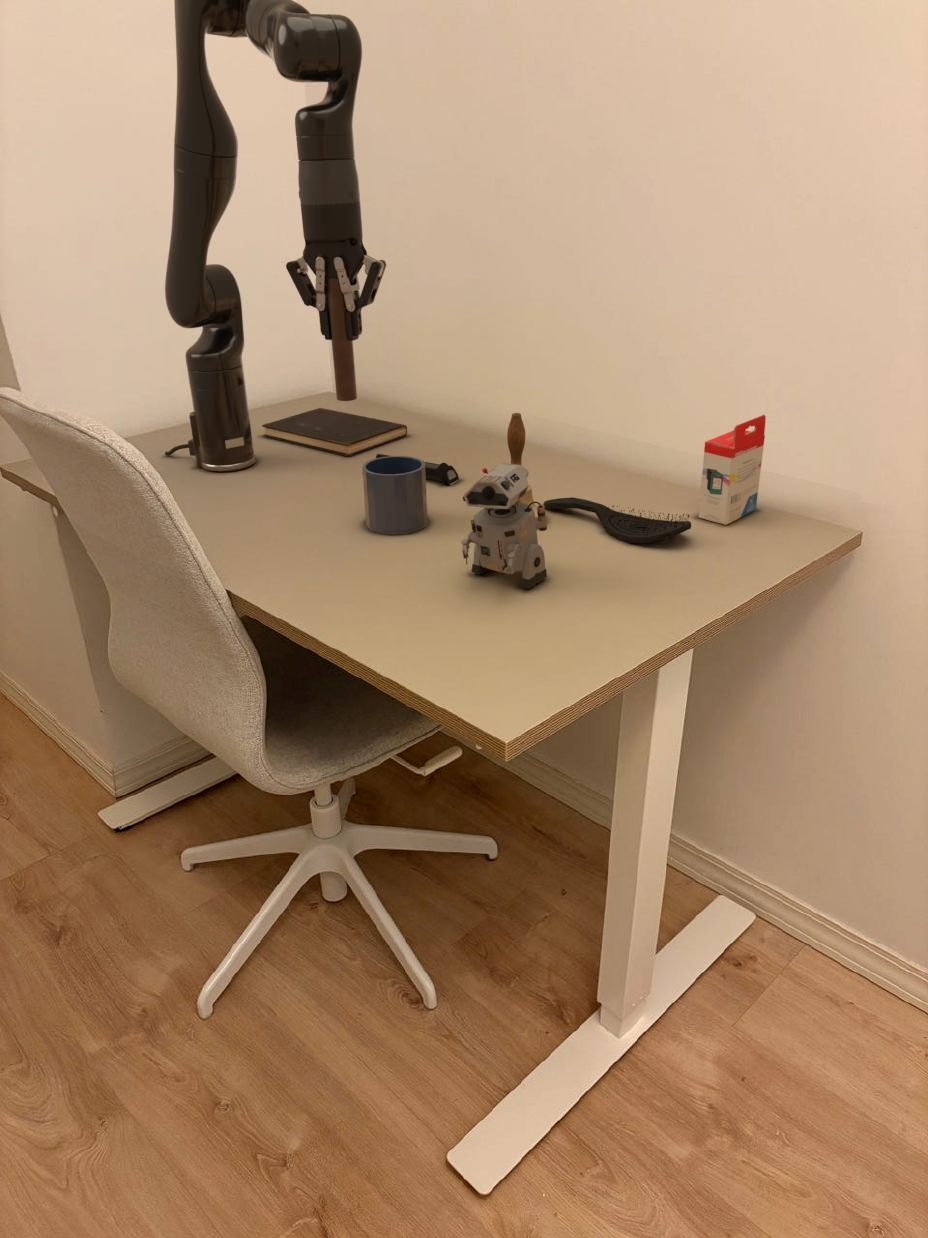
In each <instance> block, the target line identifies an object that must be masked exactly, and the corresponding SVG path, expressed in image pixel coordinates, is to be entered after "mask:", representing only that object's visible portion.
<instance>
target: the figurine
mask: <svg viewBox="0 0 928 1238" xmlns="http://www.w3.org/2000/svg"><path fill="white" fill-rule="evenodd" d="M481 470H482V473H483V474H485V475H484V476H482V477H481V478H479V479H478V480H477V481H476V482H475V483H473V484H472V486H471V487H470V488H469V489H468V490H467V491H466V492H465V493H464V494H463V496H462V500H463V502H465V504H466V507H472V508H481V510H479V511H478V512H477V513H476V514H474V515H473V516H472V518H473V519H470V525H471V531H470V532H468V534H467V537H466V538H464V539H462V540H461V541H460V543H461V545H462V548H461V552H462V557H463V559H464V560H465V563H466V564H465V565H468V559H469V558H470V556H469V550H470V548H471V547H470V544H471V543H472V544H474V549H473V563H472V565H471V573H474V574H475V575H479V576H481V575H483V574H484V573H486V572H487V570H492V571H495V572H498V573H504V574H506V575H513V574H514V573H516V572H520V571H522V574H521V575H522V577H521V578H520V587H522V588H523V589H526V590H531V589H532V588H535V586H536V584H541V582H544V580H545V578H547V577H548V573H547V569H546V559H545V552H544V549H543V547H542V546H541V544H539V542H538V540H539V539H538V532H537V530H539V531H540V532H544V531H547V530H548V525H547V519H546V518H547V517H546V508H545V507H544V504H541V503H540V502H539V501H534V502H532V503H530V504H529V505H528V504H524V503H520V502H521V501H520V499H521V498H522V497H523V496H525V494H526V491H527V488H528V484H529V481H528V476H529V474H530V472H529V470H528V469H527V468H526V467H525V466H523V465H522V466H521V465H519V464H511V463H501V464H500V465H498V466H496V467H495V468H493V469H492V470H490V471H488V468H486V467H484V468H482V469H481ZM533 503H534V504H538V505H537V506H536V508H537V514H538V517H535V512H534V510H533V508H532V506H531V504H533Z"/></svg>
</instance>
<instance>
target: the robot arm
mask: <svg viewBox="0 0 928 1238" xmlns="http://www.w3.org/2000/svg"><path fill="white" fill-rule="evenodd" d="M173 1H174V2H173V3H174V32H175V33H174V34H175V53H176V55H175V57H176V100H175V122H174V123H175V124H174V137H173V138H174V139H173V140H174V141H173V195H172V196H173V197H172V198H173V199H172V215H171V216H172V217H171V218H172V219H171V230H170V231H171V232H170V240H169V249H168V254H167V255H168V256H167V263H166V272H165V281H164V297H165V298H164V299H165V303H166V308H167V311H168V313H169V315H170V317H171V319H172V321H174V323H175V324H176V325H177V326H179V327H181V328H183V329H197V328H202V331H201V333H200V335H199V337H198V338H197V340H196V341H195V342H194V343H193V344H192V345H191V346H190V347H188V348H187V350H186V352H185V354H184V355H185V357H184V358H185V364H186V365H185V366H186V369H187V370H186V371H187V377H188V384H189V389H190V396H191V397H190V398H191V403H192V410H193V411H192V412H190V413H189V417H188V418H189V424H190V430H191V437H192V438H191V439H190V440H188V441H187V443H184V444H179V445H176V446H174V447H172V448H171V449H170V450H168V451H167V450H166V451H165V452H164V455H165V456H166V457H167V456H172V455H173V454H174V453H176V452H177V451H180V450H183V449H188V451H189V456H191V457H195V462H196V467H197V468H202V469H204V470H206V471H211V472H233V471H239V470H244V469H247V468H249V467H251V466H253V465H254V464H255V463H256V455H255V450H254V442H253V435H252V427H251V425H252V424H251V419H250V410H249V402H248V396H247V388H246V386H247V385H246V379H245V371H244V364H243V352H244V348H245V332H244V319H243V318H244V317H243V306H242V305H243V304H242V297H241V292H240V291H241V290H240V288H239V284H238V282H237V279H236V277H235V276H234V274H233V273H232V271H231V270H230V269H229V268H227V266H224V265H223V264H218V263H210V264H207V263H208V252H209V249H210V244H211V240H212V237H213V234H214V233H215V230H216V228H217V227H218V225H219V223H220V221H221V219H222V218H223V216H224V213H225V212H226V210H227V208H228V206H229V204H230V202H231V199H232V197H233V195H234V193H235V188H236V184H237V172H238V171H237V170H238V157H239V156H238V155H239V140H238V135H237V133H236V130H235V127H234V125H233V123H232V121H231V118H230V116H229V113H228V111H227V110H226V108H225V106H224V103H223V101H222V99H221V98H220V96H219V94H218V92H217V89H216V87H215V85H214V82H213V79H212V77H211V74H210V70H209V67H208V66H209V65H208V60H207V52H206V35H212V36H217V37H225V38H231V39H238V38H248V40H249V42H250V43H251V44H252V46H253V47H254V48H255V49H256V50H257V51H258V52H260V53H261V54H263V55H264V56H266V57H268V58H270V59H271V60H272V62H273V64H274V66H275V68H276V71H277V73H278V74H279V75H280V76H281V77H282V78H283V79H285V80H288V81H290V82H294V83H327V87H326V91H325V95H324V96H323V99H322V100H320V101H319V102H317V103H314V104H309V105H306V106H303V107H301V108H299V109H298V110H297V111H296V113H295V116H294V129H295V137H296V138H295V140H296V150H297V160H298V174H297V176H298V177H297V178H298V179H297V180H298V181H297V182H298V197H299V202H300V213H301V223H302V224H301V225H302V233H303V239H304V249H303V250H302V256H300V257H298V258H296V259H293V260H290V261H287V263H286V265H285V268H286V270H287V272H288V274H289V276H290V278H291V280H292V283H293V284H294V286H295V288H296V290H297V292H298V294H299V296H300V298H301V300H302V302H303V304H304V305H305V306H306V307H313V308H315V309H316V310H317V312H318V317H319V327H320V333H321V336H324V339H325V341H332V340H331V329H330V318H329V306H328V295H327V278H339V283H340V288H341V292H342V294H343V295H344V298H345V303H346V307H347V310H348V312H346V320H347V332H348V340H352V341H356V340H359V338H360V335H362V333H363V320H362V319H363V318H362V309H363V308H364V307H368V306H369V305H372V304H373V303H374V302H375V300H376V296H377V294H378V290H379V287H380V285H381V281H382V280H383V276H384V274H385V270H386V268H387V262H386V261H385V260H384V259H379V260H378V259H376V258H374V257H373V256H370V255H368V252H367V249H366V247H365V245H364V243H363V237H364V236H363V234H364V233H363V223H362V220H363V219H362V209H361V206H362V205H361V195H360V182H359V181H360V179H359V175H358V169H357V163H356V159H355V158H356V154H355V139H354V138H355V137H354V128H353V127H354V126H353V125H354V114H355V113H354V112H355V105H356V97H357V92H358V85H359V78H360V74H361V68H362V60H363V44H362V43H363V42H362V39H361V38H362V37H361V35H360V32H359V30H358V28H357V26H356V24H355V23H354V22H353V20H351V18H349V17H347V16H346V15H343V14H336V13H335V14H333V13H326V14H324V13H323V14H322V13H310V11H309V9H307V8H305V7H304V5H302V4H300V3H298V2H296V1H295V0H173ZM363 266H364V274H365V275H366V279H365V280H364V284H363V287H362V289H361V288H360V287H361V286H360V282H359V277H358V274H359V273H360V271H361V269H362V268H363ZM309 269H310V271H311V272H312V273H313V274H314V275H315V286H314V284H313V282H312V280H311V278H310V276H309V273H308V272H309ZM360 289H361V293H360Z"/></svg>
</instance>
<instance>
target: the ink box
mask: <svg viewBox="0 0 928 1238" xmlns="http://www.w3.org/2000/svg"><path fill="white" fill-rule="evenodd" d="M766 417H767V416H766V415H765V414H762V415H760V416H757V417H754V418H752V419H748V420H746V421H744V422H741V423H738V424H736V425H735V426H734V427H733V430H731V431H728V432H726V433H724V434H721V435H719V436H716V437H714V438H711V439H708V440H705V441H704V448H703V451H704V452H703V460H702V461H703V462H702V471H701V486H700V497H699V507H698V518H699V519H703V520H706V521H710V522H713V523H716V524H721V525H724V526H726V525H729V524H731V523H733V522H735V521H736V520H739V519H740V518H742V517H744V516H747V515H749V514H751V513H753V512H754V511H756V509H757V504H758V503H757V502H758V497H759V496H758V495H759V488H760V480H761V479H760V478H761V469H762V463H763V462H762V461H763V453H764V447H765V439H766V438H765V437H766V436H765V435H766V434H765V431H766ZM750 427H751V428H752V427H754V429H753V430H752V431H750V430H747V429H749V428H750Z"/></svg>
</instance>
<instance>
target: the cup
mask: <svg viewBox="0 0 928 1238" xmlns="http://www.w3.org/2000/svg"><path fill="white" fill-rule="evenodd" d="M423 461H424V460H423V459H420V458H417V457H414V456H408V455H389V456H388V457H381V458H376V457H375V458H373V459H370V460H367V461H366V462H364V463H363V465H362V467H361V469H362V482H363V494H364V507H365V508H364V510H365V523H366V527H367V528H368V530H370V531H371V532H373V533H376V534H380V535H388V536H399V535H400V536H401V535H408V534H412V533H416V532H419V531H421V530H423V529H424V528H426V526H427V525H428V501H427V500H428V499H427V478H426V475H425V462H426V461H424V462H423Z"/></svg>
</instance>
